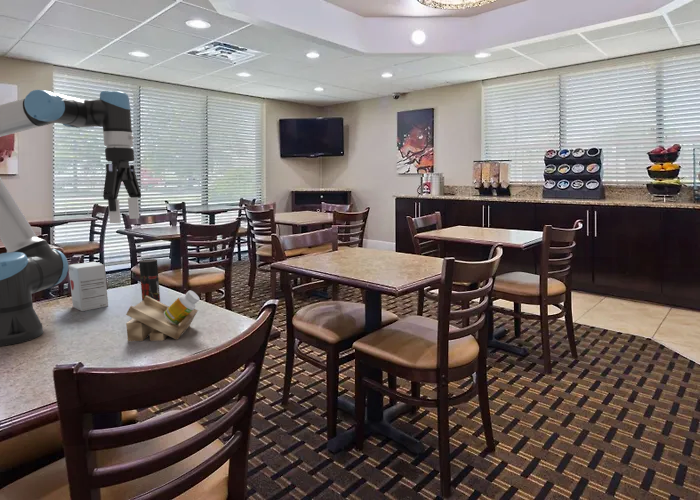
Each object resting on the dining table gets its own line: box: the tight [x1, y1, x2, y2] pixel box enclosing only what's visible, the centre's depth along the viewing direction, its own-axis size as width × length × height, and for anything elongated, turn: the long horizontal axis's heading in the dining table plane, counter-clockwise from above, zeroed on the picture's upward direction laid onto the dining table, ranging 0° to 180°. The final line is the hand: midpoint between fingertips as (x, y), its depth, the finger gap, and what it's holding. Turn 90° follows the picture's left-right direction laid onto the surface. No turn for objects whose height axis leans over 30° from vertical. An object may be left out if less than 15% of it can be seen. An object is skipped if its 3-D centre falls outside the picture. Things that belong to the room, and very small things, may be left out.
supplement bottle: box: [164, 290, 200, 325], centre depth 134 cm, size 5×5×10 cm
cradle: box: [125, 295, 199, 342], centre depth 134 cm, size 16×12×10 cm
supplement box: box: [68, 261, 109, 312], centre depth 162 cm, size 9×9×15 cm
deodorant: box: [138, 258, 161, 302], centre depth 168 cm, size 6×6×15 cm
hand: (125, 220), depth 139 cm, fingers open, 13 cm apart
